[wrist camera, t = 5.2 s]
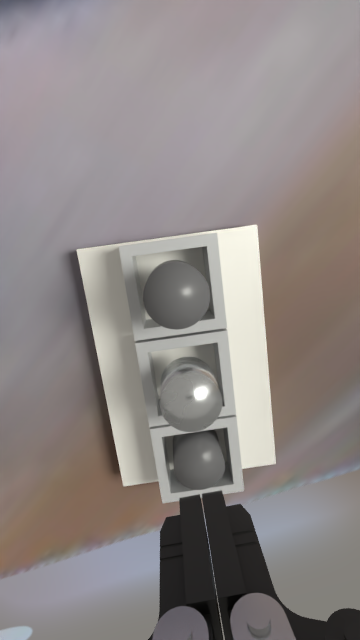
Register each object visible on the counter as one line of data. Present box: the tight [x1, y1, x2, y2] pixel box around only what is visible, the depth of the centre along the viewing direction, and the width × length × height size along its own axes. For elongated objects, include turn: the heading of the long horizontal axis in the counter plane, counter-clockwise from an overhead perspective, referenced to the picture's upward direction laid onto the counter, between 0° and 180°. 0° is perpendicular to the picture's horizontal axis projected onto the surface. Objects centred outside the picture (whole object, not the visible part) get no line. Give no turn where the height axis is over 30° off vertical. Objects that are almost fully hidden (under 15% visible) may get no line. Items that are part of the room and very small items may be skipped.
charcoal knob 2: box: [173, 429, 225, 490], centre depth 28 cm, size 4×4×4 cm
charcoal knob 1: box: [143, 260, 210, 330], centre depth 22 cm, size 4×4×4 cm
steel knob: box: [160, 357, 222, 432], centre depth 24 cm, size 4×4×4 cm
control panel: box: [76, 225, 276, 503], centre depth 28 cm, size 14×21×5 cm, turn 8°
